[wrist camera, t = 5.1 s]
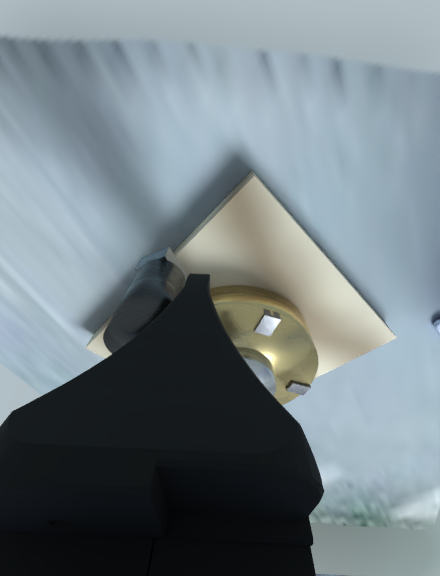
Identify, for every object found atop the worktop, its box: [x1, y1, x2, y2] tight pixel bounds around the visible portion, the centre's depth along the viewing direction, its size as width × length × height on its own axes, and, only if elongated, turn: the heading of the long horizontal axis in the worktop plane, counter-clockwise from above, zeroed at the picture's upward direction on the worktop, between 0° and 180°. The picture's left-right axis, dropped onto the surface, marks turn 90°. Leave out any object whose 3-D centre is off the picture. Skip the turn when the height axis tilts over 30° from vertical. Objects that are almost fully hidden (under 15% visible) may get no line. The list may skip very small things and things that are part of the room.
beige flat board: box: [86, 171, 397, 379], centre depth 20 cm, size 18×16×2 cm
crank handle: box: [103, 247, 319, 405], centre depth 15 cm, size 16×11×8 cm
